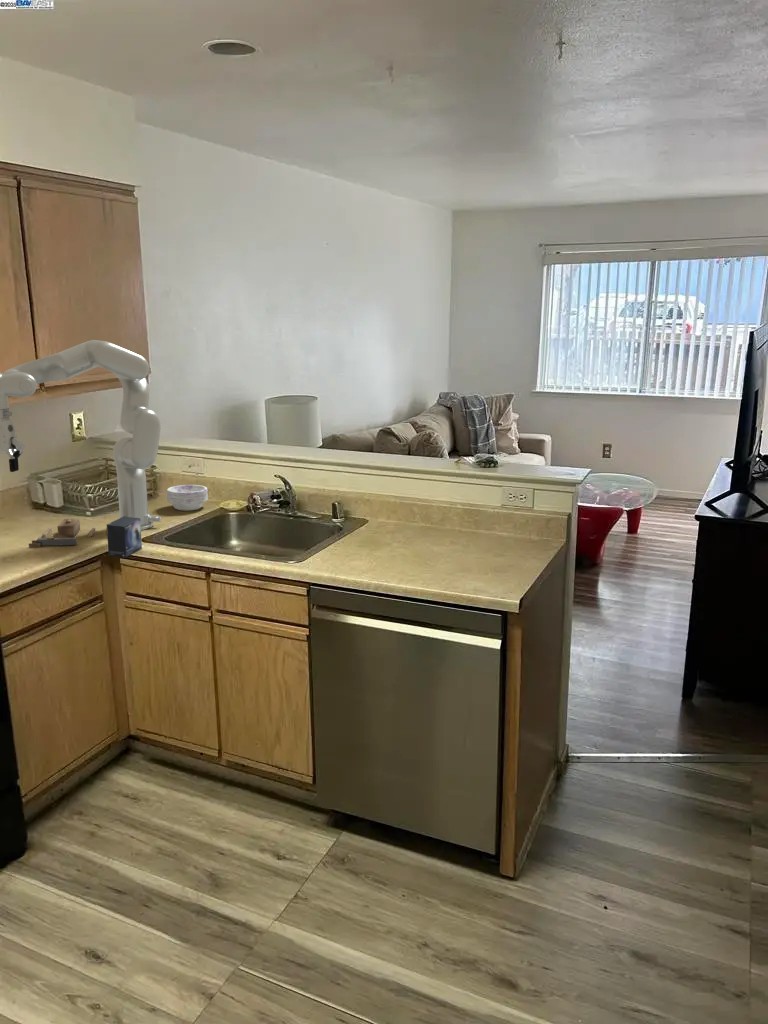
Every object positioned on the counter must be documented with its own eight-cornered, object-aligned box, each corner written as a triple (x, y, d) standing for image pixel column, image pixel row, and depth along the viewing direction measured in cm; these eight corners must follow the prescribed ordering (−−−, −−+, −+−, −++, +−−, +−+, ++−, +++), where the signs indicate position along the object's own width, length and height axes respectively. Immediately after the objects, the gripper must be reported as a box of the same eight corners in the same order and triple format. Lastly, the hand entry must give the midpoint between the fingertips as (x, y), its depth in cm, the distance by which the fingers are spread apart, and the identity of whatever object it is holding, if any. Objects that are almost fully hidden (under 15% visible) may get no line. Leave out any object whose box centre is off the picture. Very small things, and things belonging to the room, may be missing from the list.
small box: (126, 558, 242) (124, 526, 240) (107, 556, 244) (105, 524, 241) (143, 548, 252) (141, 517, 250) (124, 547, 254) (122, 515, 251)
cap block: (80, 531, 270) (79, 516, 269) (74, 538, 262) (72, 523, 260) (65, 531, 269) (63, 516, 268) (58, 539, 261) (57, 523, 260)
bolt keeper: (43, 543, 255) (43, 540, 255) (40, 547, 251) (40, 543, 251) (32, 543, 254) (32, 540, 254) (28, 547, 251) (28, 543, 251)
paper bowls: (191, 501, 313) (190, 481, 311) (216, 507, 304) (215, 487, 302) (159, 508, 301) (158, 488, 299) (184, 515, 292) (183, 494, 290)
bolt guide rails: (95, 531, 270) (95, 527, 270) (91, 536, 263) (90, 533, 263) (48, 532, 268) (48, 528, 267) (42, 537, 261) (42, 534, 261)
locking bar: (77, 543, 256) (76, 533, 255) (75, 545, 254) (75, 535, 253) (38, 544, 254) (37, 534, 253) (37, 545, 252) (36, 536, 251)
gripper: (28, 414, 238) (33, 469, 242) (-21, 411, 242) (-15, 465, 246) (12, 417, 231) (16, 474, 235) (-39, 414, 234) (-33, 470, 239)
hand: (0, 469), depth 240 cm, fingers open, 9 cm apart
